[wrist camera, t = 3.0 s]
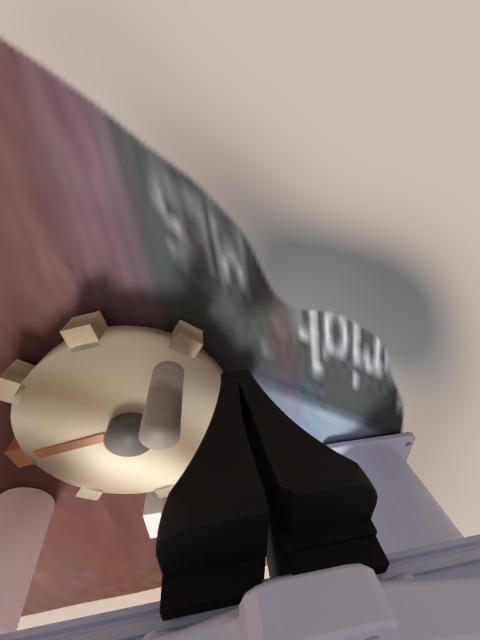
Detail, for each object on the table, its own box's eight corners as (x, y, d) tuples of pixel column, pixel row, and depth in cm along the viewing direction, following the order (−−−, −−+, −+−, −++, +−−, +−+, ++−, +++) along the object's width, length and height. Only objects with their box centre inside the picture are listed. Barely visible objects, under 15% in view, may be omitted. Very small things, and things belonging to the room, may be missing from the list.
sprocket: (182, 496, 21) (178, 588, 16) (-21, 450, 16) (-112, 562, 12) (286, 371, 17) (322, 445, 12) (57, 259, 12) (-33, 308, 7)
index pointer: (169, 501, 22) (167, 535, 20) (154, 504, 22) (150, 538, 20) (164, 478, 21) (160, 512, 18) (148, 481, 20) (142, 515, 18)
